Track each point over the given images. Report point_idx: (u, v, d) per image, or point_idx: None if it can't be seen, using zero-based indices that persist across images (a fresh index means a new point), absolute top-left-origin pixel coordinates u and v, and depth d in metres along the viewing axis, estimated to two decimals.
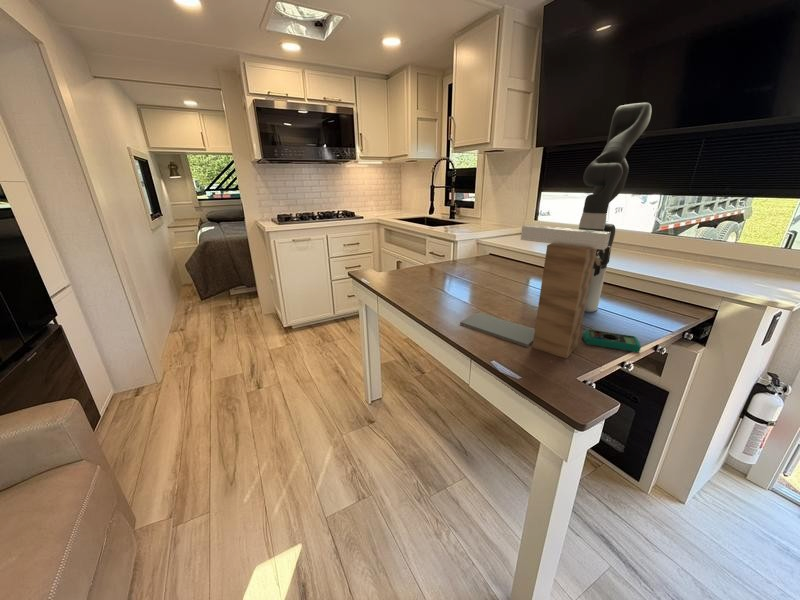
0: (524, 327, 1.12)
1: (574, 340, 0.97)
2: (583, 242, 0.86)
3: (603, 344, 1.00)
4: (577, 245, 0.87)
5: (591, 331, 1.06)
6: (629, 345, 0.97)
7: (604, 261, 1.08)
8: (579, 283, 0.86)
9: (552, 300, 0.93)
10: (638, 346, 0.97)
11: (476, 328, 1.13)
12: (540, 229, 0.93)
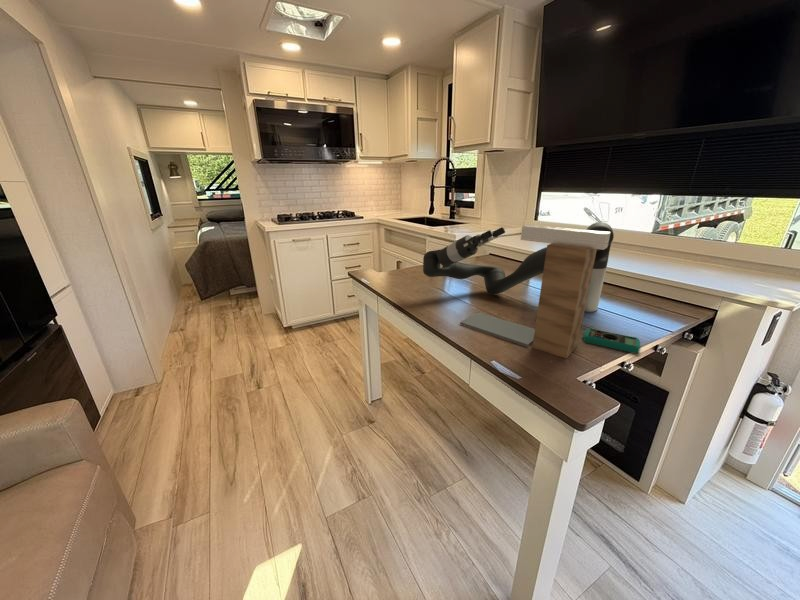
0: (524, 327, 1.12)
1: (574, 340, 0.97)
2: (583, 242, 0.86)
3: (601, 343, 1.01)
4: (577, 245, 0.87)
5: (593, 330, 1.06)
6: (627, 346, 0.97)
7: None
8: (579, 283, 0.86)
9: (552, 300, 0.93)
10: (636, 347, 0.96)
11: (476, 328, 1.13)
12: (540, 229, 0.93)
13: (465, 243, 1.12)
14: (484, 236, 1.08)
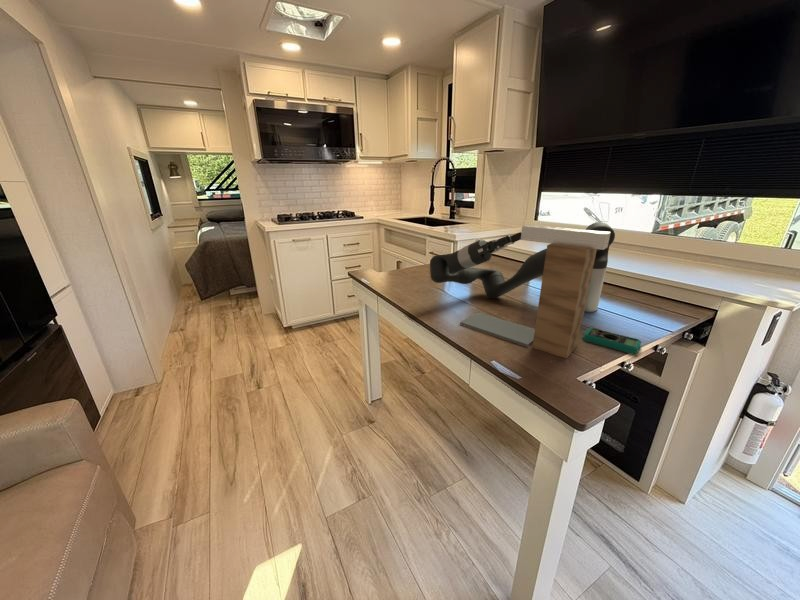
0: (524, 327, 1.12)
1: (574, 340, 0.97)
2: (583, 242, 0.86)
3: (600, 342, 1.01)
4: (577, 245, 0.87)
5: (594, 330, 1.07)
6: (625, 346, 0.97)
7: None
8: (579, 283, 0.86)
9: (552, 300, 0.93)
10: (634, 348, 0.95)
11: (476, 328, 1.13)
12: (540, 229, 0.93)
13: (480, 248, 1.01)
14: (502, 242, 0.97)
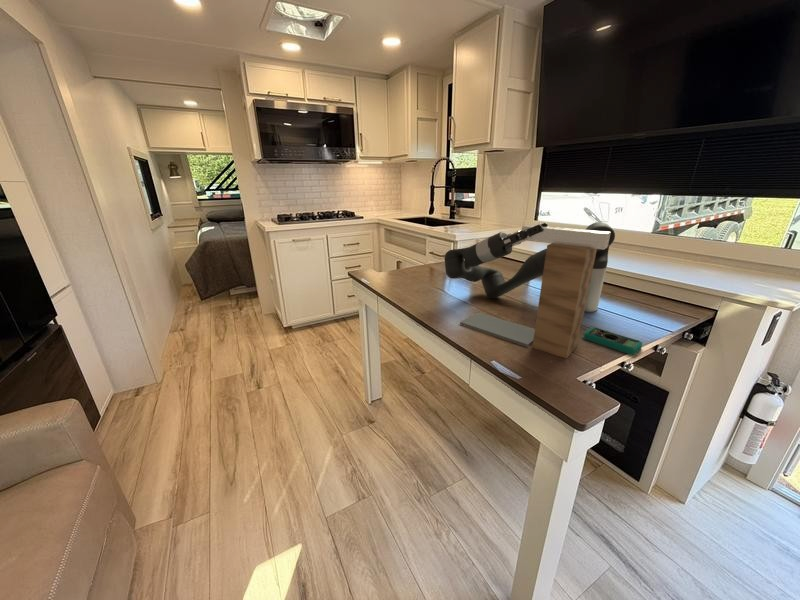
0: (524, 327, 1.12)
1: (574, 340, 0.97)
2: (583, 242, 0.86)
3: (599, 341, 1.02)
4: (577, 245, 0.87)
5: (597, 329, 1.07)
6: (623, 346, 0.97)
7: None
8: (579, 283, 0.86)
9: (552, 300, 0.93)
10: (632, 349, 0.95)
11: (476, 328, 1.13)
12: None
13: (507, 239, 0.95)
14: (532, 231, 0.93)
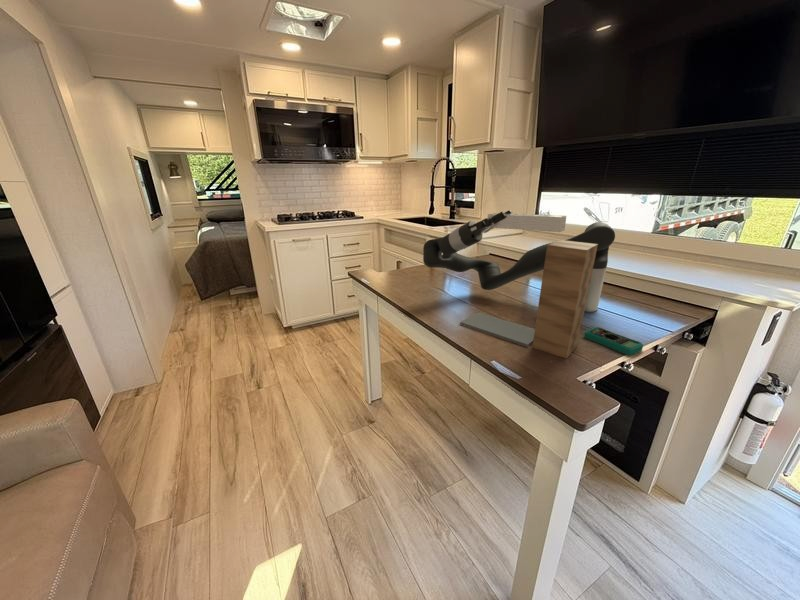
0: (524, 327, 1.12)
1: (574, 340, 0.97)
2: (541, 226, 0.91)
3: (598, 341, 1.03)
4: (536, 229, 0.92)
5: (599, 329, 1.07)
6: (621, 346, 0.97)
7: None
8: (579, 283, 0.86)
9: (552, 300, 0.93)
10: (629, 349, 0.95)
11: (476, 328, 1.13)
12: None
13: (473, 227, 1.01)
14: (496, 218, 0.99)
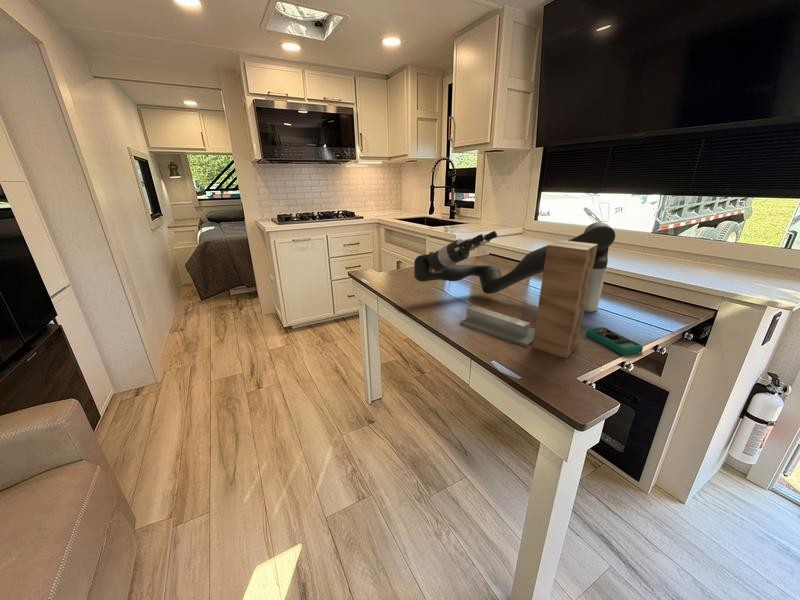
0: None
1: (574, 340, 0.97)
2: (508, 329, 1.08)
3: (597, 339, 1.03)
4: (505, 330, 1.09)
5: (604, 329, 1.07)
6: (617, 346, 0.97)
7: None
8: (579, 283, 0.86)
9: (552, 300, 0.93)
10: (624, 349, 0.95)
11: (476, 328, 1.13)
12: (479, 313, 1.15)
13: (456, 247, 1.08)
14: (475, 240, 1.04)
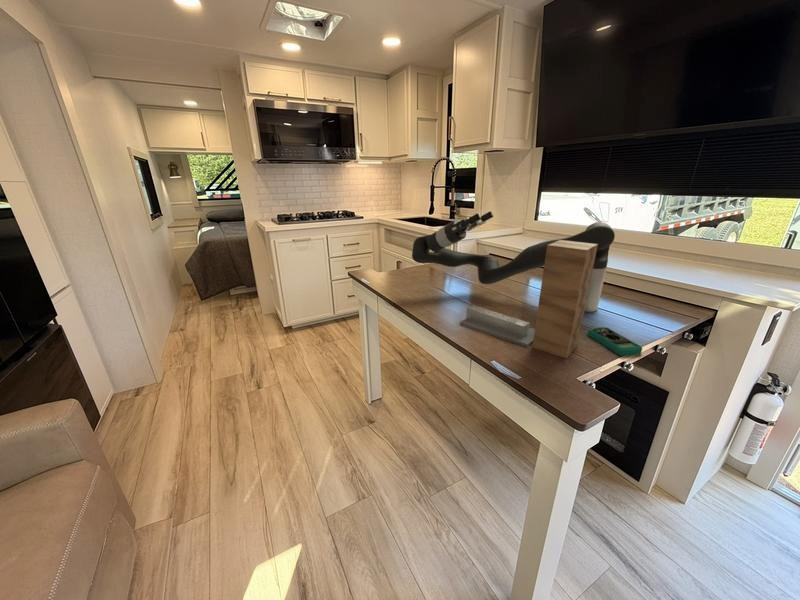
0: None
1: (574, 340, 0.97)
2: (508, 329, 1.08)
3: (597, 339, 1.04)
4: (505, 330, 1.09)
5: (606, 329, 1.07)
6: (614, 346, 0.97)
7: None
8: (579, 283, 0.86)
9: (552, 300, 0.93)
10: (620, 349, 0.95)
11: (476, 328, 1.13)
12: (479, 313, 1.15)
13: (453, 227, 1.12)
14: (472, 219, 1.08)
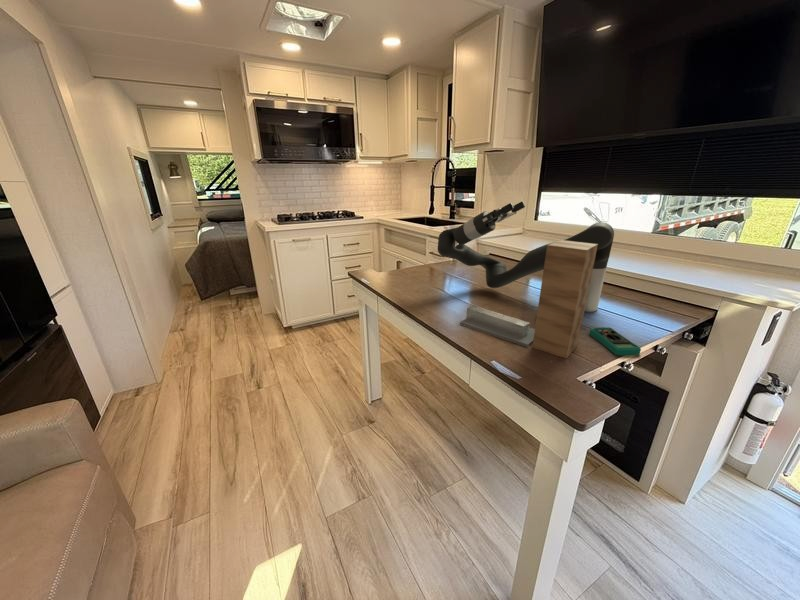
0: None
1: (574, 340, 0.97)
2: (508, 329, 1.08)
3: (597, 338, 1.04)
4: (505, 330, 1.09)
5: (610, 330, 1.07)
6: (611, 345, 0.98)
7: None
8: (579, 283, 0.86)
9: (552, 300, 0.93)
10: (616, 348, 0.95)
11: (476, 328, 1.13)
12: (479, 313, 1.15)
13: (484, 218, 1.09)
14: (505, 209, 1.05)
